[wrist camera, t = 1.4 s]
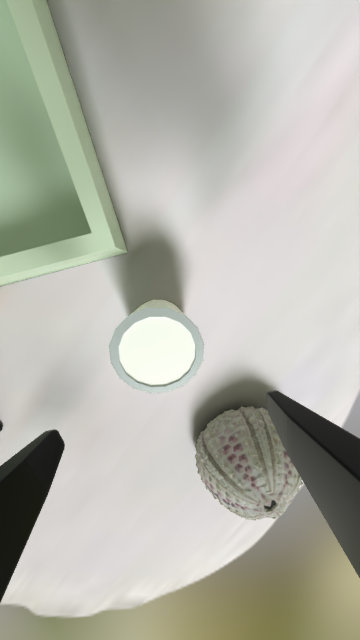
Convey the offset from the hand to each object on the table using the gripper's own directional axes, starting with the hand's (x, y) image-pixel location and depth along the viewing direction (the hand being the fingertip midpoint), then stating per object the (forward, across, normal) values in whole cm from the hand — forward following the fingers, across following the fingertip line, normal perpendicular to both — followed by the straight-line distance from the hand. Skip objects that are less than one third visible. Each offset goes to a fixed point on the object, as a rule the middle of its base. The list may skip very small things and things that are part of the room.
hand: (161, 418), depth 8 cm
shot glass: (+13, +1, 0) cm, 13 cm away
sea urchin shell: (+13, -6, +19) cm, 24 cm away
